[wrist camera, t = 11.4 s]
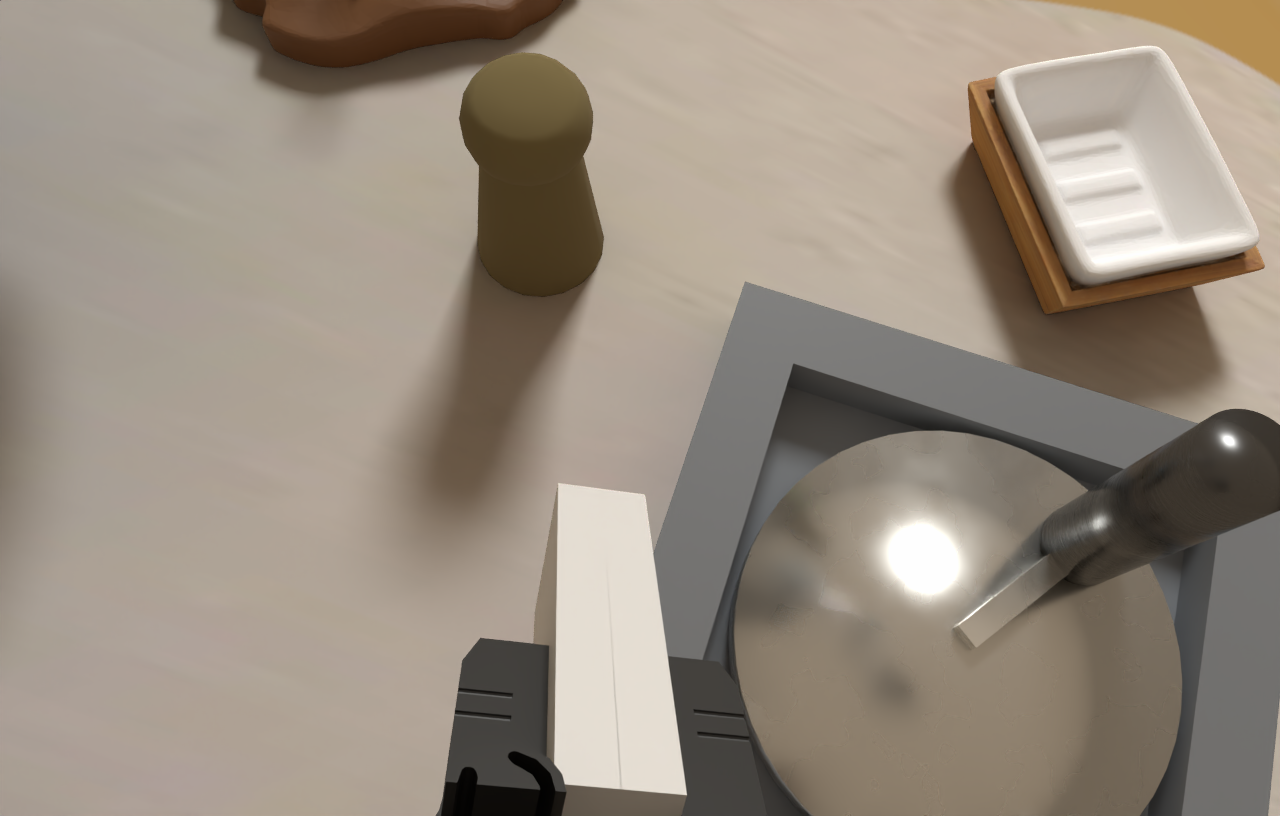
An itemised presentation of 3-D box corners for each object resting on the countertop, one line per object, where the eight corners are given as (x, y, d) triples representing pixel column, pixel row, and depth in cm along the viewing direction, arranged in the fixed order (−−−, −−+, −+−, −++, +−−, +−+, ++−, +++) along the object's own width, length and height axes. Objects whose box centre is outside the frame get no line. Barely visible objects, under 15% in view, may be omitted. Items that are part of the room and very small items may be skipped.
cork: (622, 272, 47) (628, 129, 37) (502, 314, 46) (473, 179, 36) (576, 171, 49) (569, 8, 39) (460, 209, 48) (420, 53, 38)
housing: (554, 853, 38) (549, 861, 34) (734, 320, 46) (746, 277, 42) (1174, 1082, 36) (1245, 1119, 32) (1246, 483, 44) (1309, 453, 40)
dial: (920, 989, 35) (1087, 1096, 23) (643, 596, 40) (660, 514, 28) (1244, 701, 39) (1531, 664, 27) (957, 374, 44) (1093, 217, 32)
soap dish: (1219, 305, 48) (1287, 252, 43) (1030, 343, 47) (1078, 294, 42) (1119, 96, 52) (1170, 27, 47) (943, 127, 51) (978, 60, 46)
